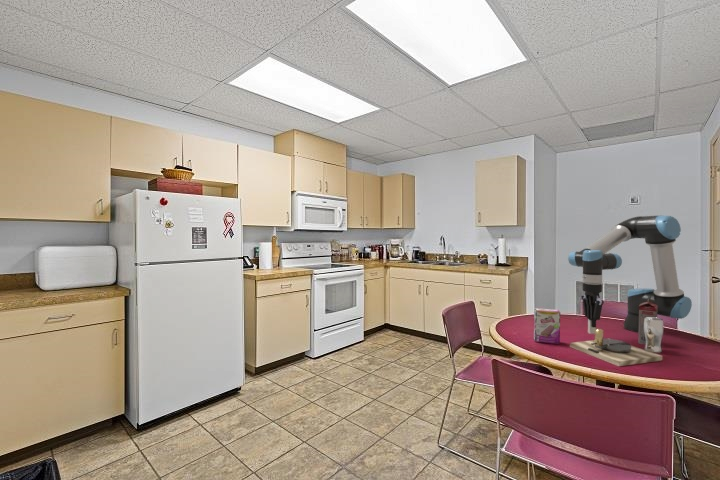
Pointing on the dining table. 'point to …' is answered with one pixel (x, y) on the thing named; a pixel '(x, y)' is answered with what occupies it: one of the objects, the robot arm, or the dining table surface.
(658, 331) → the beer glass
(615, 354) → the stand
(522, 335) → the dining table surface
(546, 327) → the candy bar box
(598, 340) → the grey round handled piece
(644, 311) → the juice carton
